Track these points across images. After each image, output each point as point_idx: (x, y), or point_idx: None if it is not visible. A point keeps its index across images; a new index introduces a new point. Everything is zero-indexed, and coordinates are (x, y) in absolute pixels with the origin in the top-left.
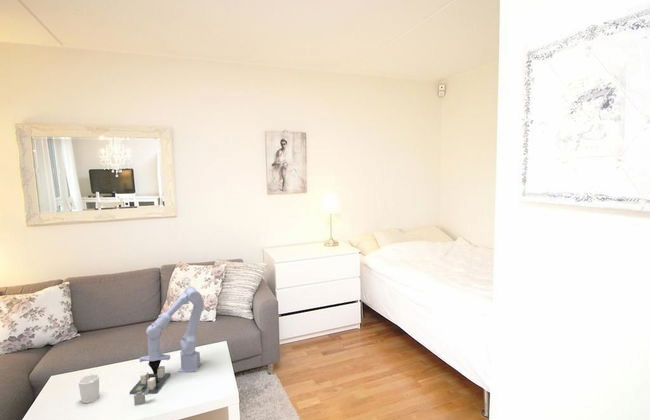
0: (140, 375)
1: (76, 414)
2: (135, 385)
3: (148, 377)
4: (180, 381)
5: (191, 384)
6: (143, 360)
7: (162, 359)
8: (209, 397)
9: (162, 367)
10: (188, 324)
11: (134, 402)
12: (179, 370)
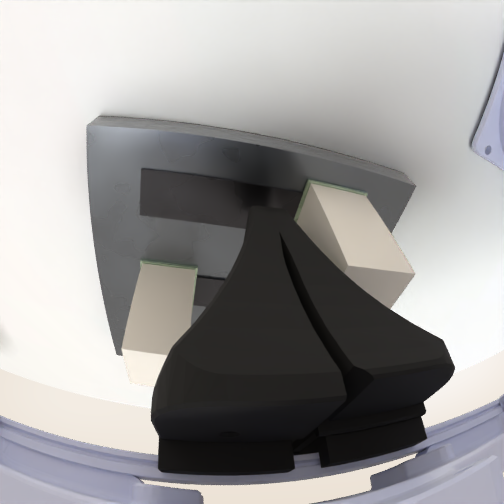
0: (131, 383)
1: (10, 372)
2: (107, 308)
3: (192, 296)
4: (445, 277)
5: (473, 306)
6: (34, 450)
7: (435, 437)
8: (472, 361)
9: (382, 299)
10: None
11: None
12: (484, 142)
